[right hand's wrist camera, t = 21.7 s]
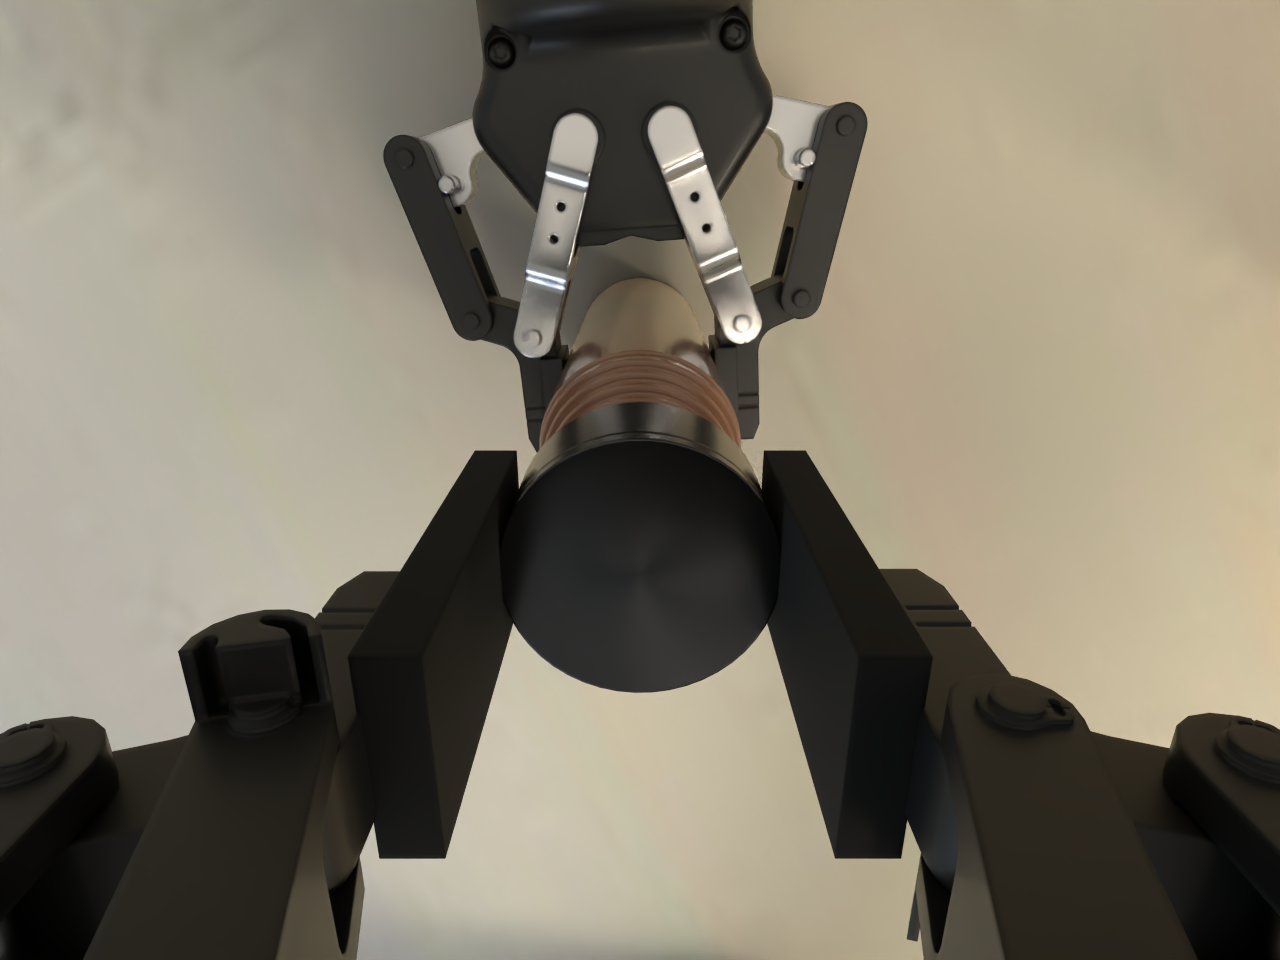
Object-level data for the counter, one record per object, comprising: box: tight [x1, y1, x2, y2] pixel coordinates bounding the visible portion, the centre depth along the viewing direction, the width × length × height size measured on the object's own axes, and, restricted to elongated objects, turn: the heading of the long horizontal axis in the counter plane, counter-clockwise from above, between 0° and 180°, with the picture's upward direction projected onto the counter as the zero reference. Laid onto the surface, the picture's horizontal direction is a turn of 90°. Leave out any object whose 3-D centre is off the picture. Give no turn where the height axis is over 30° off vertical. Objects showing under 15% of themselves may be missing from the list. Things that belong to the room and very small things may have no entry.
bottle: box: [539, 278, 741, 450], centre depth 22 cm, size 5×5×20 cm
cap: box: [499, 402, 781, 693], centre depth 13 cm, size 5×4×2 cm
